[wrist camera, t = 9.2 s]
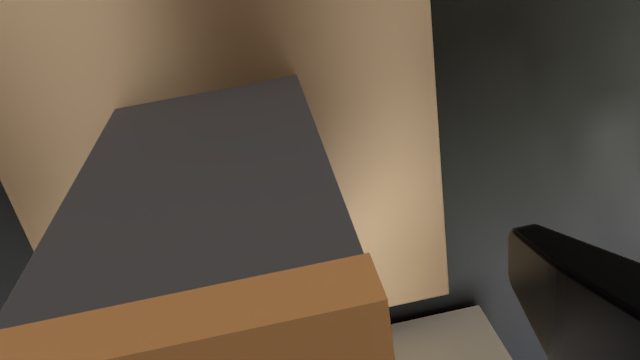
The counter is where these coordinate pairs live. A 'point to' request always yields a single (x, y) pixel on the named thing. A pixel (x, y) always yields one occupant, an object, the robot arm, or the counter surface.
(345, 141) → the cork pad
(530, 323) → the robot arm
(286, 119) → the plug
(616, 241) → the counter surface
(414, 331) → the block
